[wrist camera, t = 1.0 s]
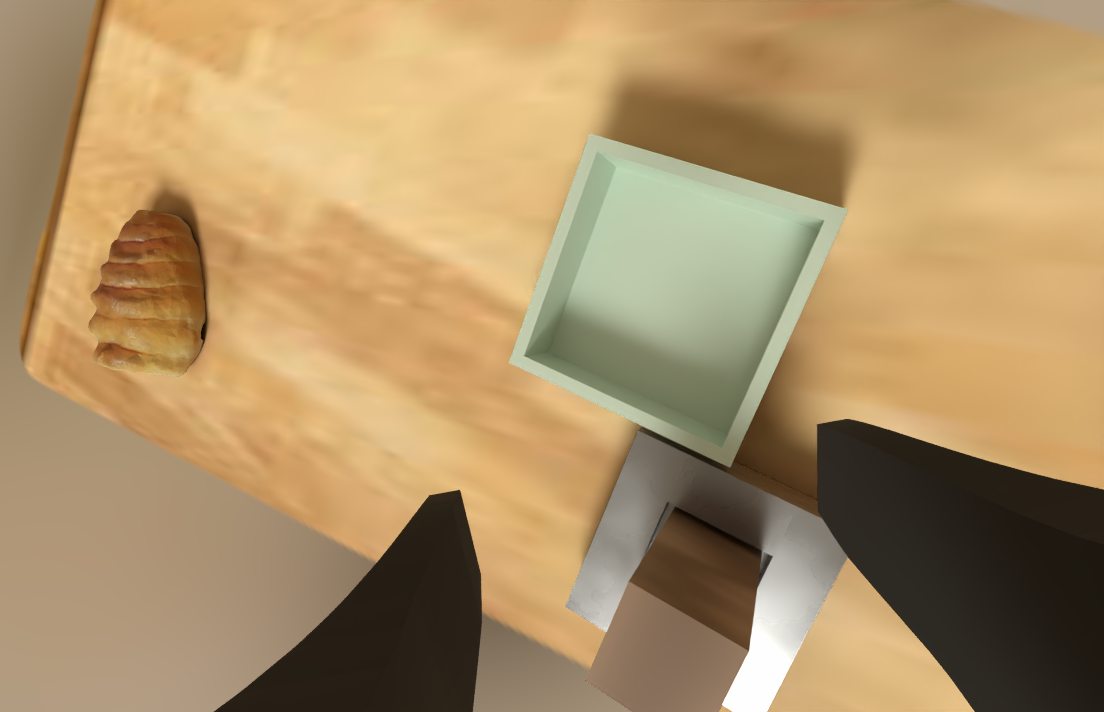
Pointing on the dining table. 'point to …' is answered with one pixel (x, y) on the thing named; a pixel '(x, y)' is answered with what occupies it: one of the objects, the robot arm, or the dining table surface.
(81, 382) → the dining table surface
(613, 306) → the bin
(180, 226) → the pastry
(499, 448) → the dining table surface
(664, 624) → the strut
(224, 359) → the dining table surface
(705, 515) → the socket block
